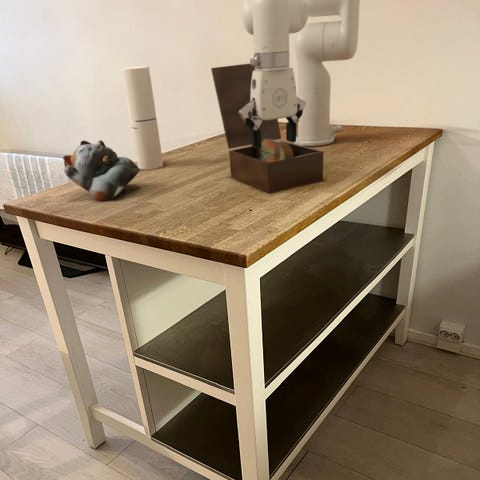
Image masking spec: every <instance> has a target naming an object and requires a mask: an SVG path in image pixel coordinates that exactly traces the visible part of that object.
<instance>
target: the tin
mask: <svg viewBox="0 0 480 480" xmlns="http://www.w3.org/2000/svg"><path fill="white" fill-rule="evenodd" d="M281 141H282V140H281ZM281 141H280V140H279V139H277V140H275V139H262V140H261V148H259V149H257V159H259V160H262V161H265V162H268V163H269V162H274V161H278V160H283V159H288V158H292V157H294V156H293V151H292V149H291V147H290V146H289V145H288V144H287V143H284V142H281Z"/></svg>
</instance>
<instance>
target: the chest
mask: <svg viewBox="0 0 480 480" xmlns="http://www.w3.org/2000/svg"><path fill="white" fill-rule="evenodd" d="M279 141H281V142H284V143H287V144H288V145H289V146H290V147H291V149H292V151H293V156H294V157H292V158H288V159H283V160H278V161H274V162H269V163H268V162H265V161H262V160H259V159H257V149H258V148H254V147H252V145H249V146H244V147H239V148H236V149H235V148H234V149H231V150H230V149H228V154H229V155H228V156H229V166H230V178H232V179H234V180H236V181H238V182H241V183H243V184H245V185H248V186H250V187H253V188H255V189H257V190H260V191H263V192H265V193H266V194H271V193H276V192H281V191H284V190H289V189H292V188H296V187H300V186H305V185H309V184H313V183H317V182H321V181H324V153H325V152H324V150H320V149H316V148H312V147H309V146H300V145H297V144H294V143H293V142H290V141H285V140H282V139H279Z"/></svg>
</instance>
